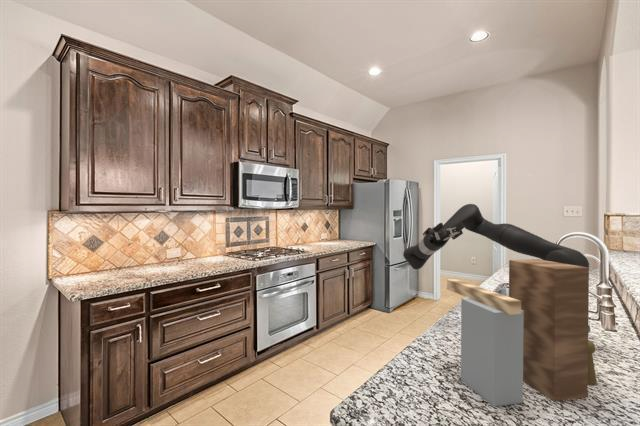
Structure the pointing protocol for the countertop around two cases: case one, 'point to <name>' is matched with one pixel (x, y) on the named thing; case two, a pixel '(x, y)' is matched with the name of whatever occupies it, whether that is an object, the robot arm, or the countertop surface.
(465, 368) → the grey rectangular block
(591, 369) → the cork
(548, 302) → the tall walnut stand
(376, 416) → the countertop surface
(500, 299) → the beech bar
